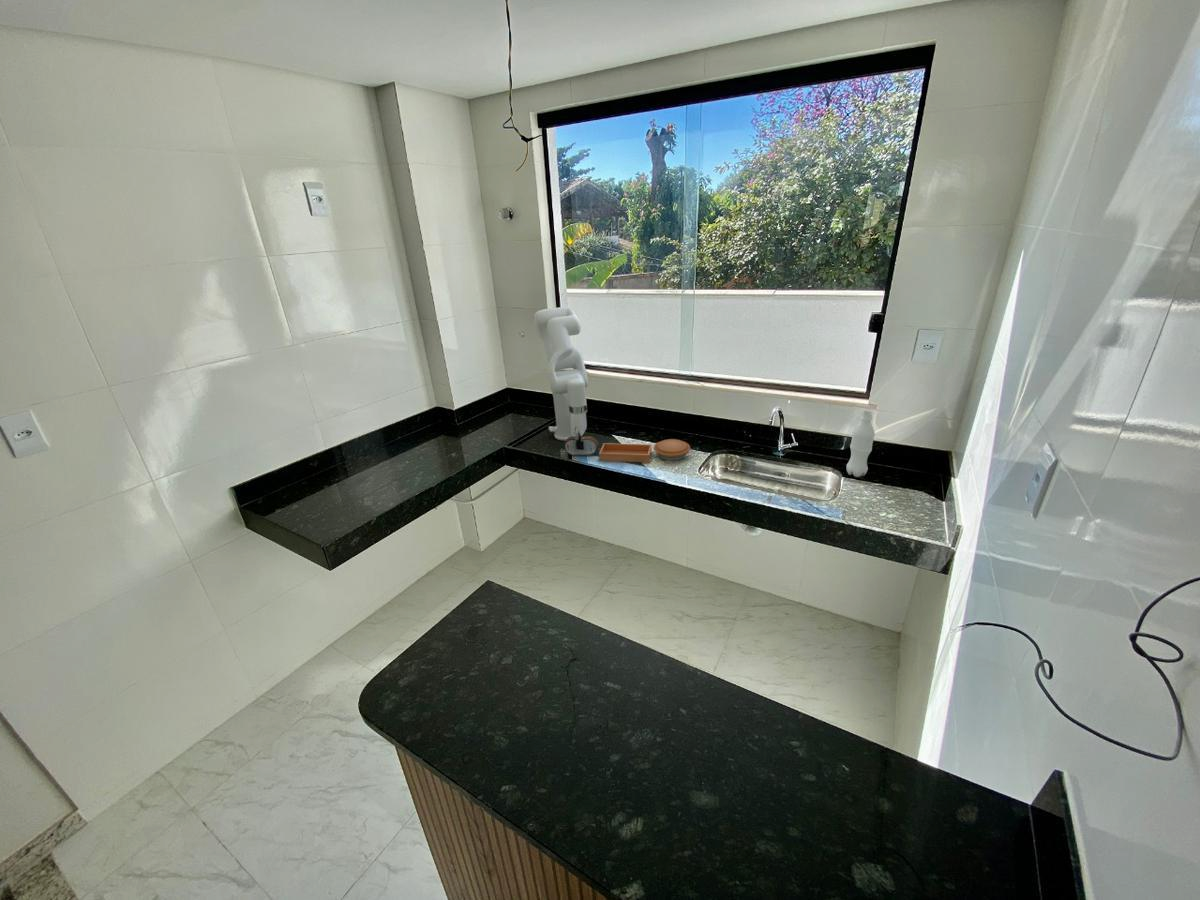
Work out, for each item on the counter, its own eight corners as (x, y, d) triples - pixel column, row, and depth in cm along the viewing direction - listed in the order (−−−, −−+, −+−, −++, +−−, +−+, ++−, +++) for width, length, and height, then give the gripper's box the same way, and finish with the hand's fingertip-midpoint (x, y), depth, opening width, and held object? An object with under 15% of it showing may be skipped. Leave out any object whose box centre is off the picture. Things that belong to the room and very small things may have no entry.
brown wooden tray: (599, 460, 207) (598, 453, 205) (604, 450, 216) (603, 443, 214) (649, 462, 202) (648, 455, 201) (651, 451, 211) (651, 444, 210)
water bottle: (865, 470, 185) (877, 409, 175) (867, 479, 179) (880, 417, 168) (844, 468, 188) (855, 408, 177) (846, 477, 182) (857, 415, 171)
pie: (668, 444, 217) (668, 433, 215) (697, 453, 207) (697, 442, 205) (646, 456, 208) (646, 445, 206) (675, 466, 198) (675, 455, 196)
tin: (599, 453, 213) (598, 435, 210) (598, 456, 211) (597, 438, 207) (565, 453, 215) (564, 435, 212) (564, 456, 212) (562, 438, 209)
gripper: (574, 401, 211) (577, 439, 220) (564, 415, 197) (568, 455, 205) (590, 401, 210) (593, 439, 218) (582, 415, 196) (585, 456, 204)
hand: (581, 447), depth 212 cm, fingers closed on tin, 3 cm apart
